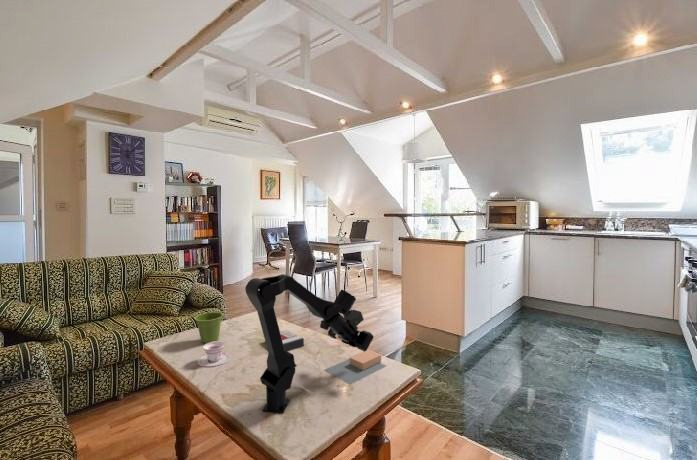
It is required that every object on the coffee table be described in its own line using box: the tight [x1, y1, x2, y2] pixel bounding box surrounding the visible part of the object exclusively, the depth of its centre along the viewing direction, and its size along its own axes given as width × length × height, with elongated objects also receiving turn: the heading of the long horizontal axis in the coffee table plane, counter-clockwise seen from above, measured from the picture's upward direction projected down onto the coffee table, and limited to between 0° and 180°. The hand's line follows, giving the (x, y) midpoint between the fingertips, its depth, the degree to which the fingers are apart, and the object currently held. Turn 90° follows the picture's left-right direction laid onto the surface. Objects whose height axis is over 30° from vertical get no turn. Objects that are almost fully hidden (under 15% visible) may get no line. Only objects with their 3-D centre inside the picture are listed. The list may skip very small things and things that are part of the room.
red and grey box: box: [264, 329, 305, 352], centre depth 148 cm, size 11×4×15 cm
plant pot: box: [194, 311, 224, 344], centre depth 153 cm, size 12×12×11 cm
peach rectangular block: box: [348, 349, 382, 370], centre depth 129 cm, size 3×7×10 cm
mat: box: [324, 358, 387, 385], centre depth 125 cm, size 18×14×1 cm
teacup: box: [197, 340, 232, 368], centre depth 134 cm, size 12×12×6 cm
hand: (361, 346), depth 127 cm, fingers closed
